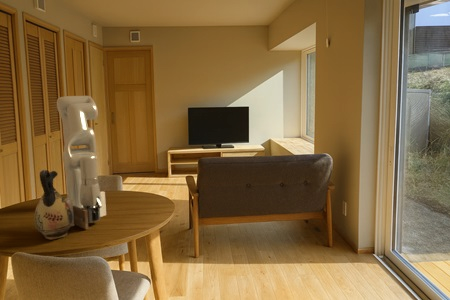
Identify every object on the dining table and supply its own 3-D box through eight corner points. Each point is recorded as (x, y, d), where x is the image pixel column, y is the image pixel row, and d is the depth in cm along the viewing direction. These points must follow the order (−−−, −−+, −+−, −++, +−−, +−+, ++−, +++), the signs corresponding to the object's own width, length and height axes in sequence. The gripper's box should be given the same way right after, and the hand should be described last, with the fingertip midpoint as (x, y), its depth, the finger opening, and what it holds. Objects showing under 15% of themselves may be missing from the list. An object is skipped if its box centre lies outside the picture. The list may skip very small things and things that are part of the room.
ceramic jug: (44, 230, 196) (38, 165, 192) (78, 229, 196) (73, 164, 192) (28, 244, 179) (21, 173, 175) (65, 243, 179) (59, 172, 175)
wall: (62, 227, 200) (59, 202, 198) (103, 214, 219) (101, 191, 217) (65, 228, 198) (63, 203, 196) (106, 215, 218) (105, 191, 216)
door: (75, 223, 205) (74, 205, 203) (88, 228, 196) (87, 210, 195) (69, 224, 203) (67, 206, 201) (82, 230, 194) (80, 212, 192)
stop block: (84, 221, 202) (83, 209, 201) (94, 218, 207) (93, 206, 206) (89, 223, 200) (89, 210, 199) (100, 219, 205) (99, 207, 204)
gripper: (71, 181, 202) (74, 218, 205) (94, 184, 193) (97, 224, 196) (84, 178, 209) (87, 214, 211) (108, 181, 199) (110, 220, 202)
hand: (92, 219), depth 203 cm, fingers closed on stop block, 4 cm apart
